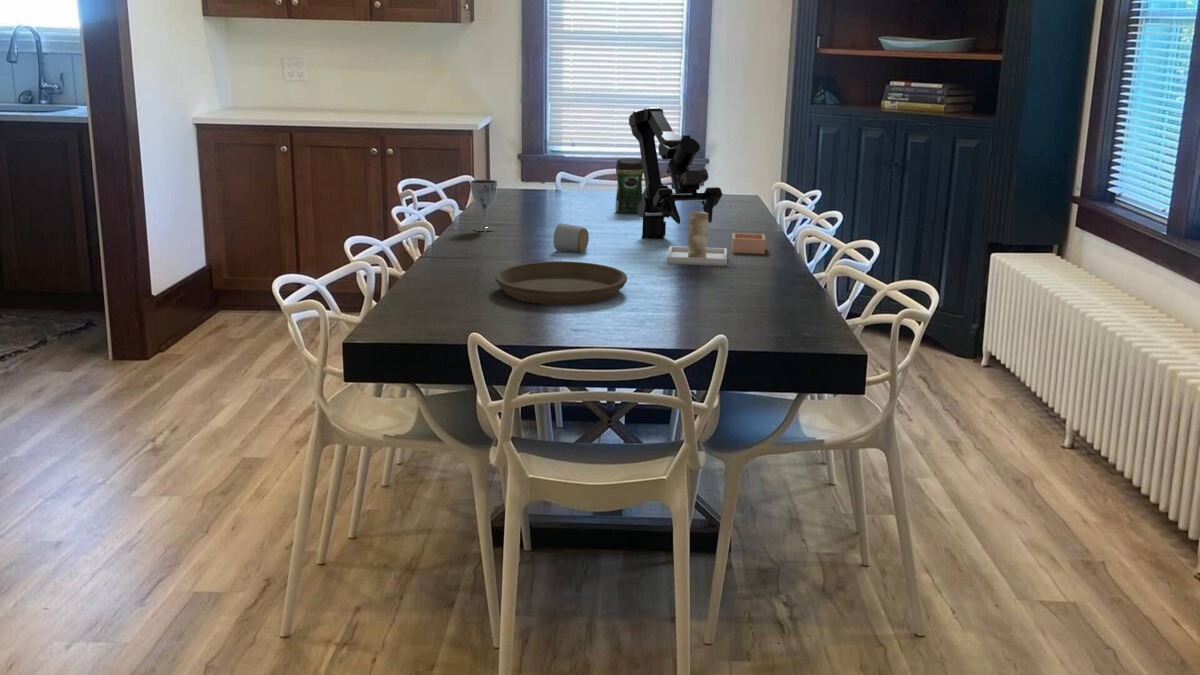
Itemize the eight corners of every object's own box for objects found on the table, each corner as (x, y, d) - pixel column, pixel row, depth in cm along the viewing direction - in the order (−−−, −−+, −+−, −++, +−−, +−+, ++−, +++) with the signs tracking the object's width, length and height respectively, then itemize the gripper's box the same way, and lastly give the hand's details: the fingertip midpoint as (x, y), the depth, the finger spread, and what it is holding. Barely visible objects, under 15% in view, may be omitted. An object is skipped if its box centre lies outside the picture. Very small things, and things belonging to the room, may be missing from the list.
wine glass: (466, 231, 338) (466, 181, 334) (479, 227, 345) (478, 179, 341) (489, 233, 335) (489, 183, 331) (501, 229, 342) (501, 180, 338)
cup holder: (731, 254, 309) (732, 238, 308) (731, 248, 318) (732, 233, 317) (764, 255, 308) (765, 239, 307) (763, 249, 317) (764, 234, 316)
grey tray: (666, 263, 295) (666, 257, 295) (669, 252, 310) (669, 246, 310) (726, 266, 294) (727, 259, 293) (726, 254, 309) (726, 248, 308)
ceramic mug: (579, 254, 305) (580, 227, 303) (552, 252, 308) (553, 224, 306) (594, 249, 314) (594, 222, 313) (567, 246, 317) (568, 220, 315)
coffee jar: (641, 210, 383) (643, 156, 378) (644, 214, 375) (645, 159, 370) (613, 210, 382) (615, 156, 377) (615, 214, 374) (617, 159, 369)
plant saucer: (580, 315, 240) (580, 295, 239) (468, 296, 256) (467, 277, 255) (650, 290, 266) (651, 271, 265) (544, 273, 282) (544, 256, 280)
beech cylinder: (684, 256, 302) (686, 213, 298) (694, 254, 305) (696, 211, 302) (699, 259, 299) (701, 215, 295) (709, 256, 302) (711, 213, 299)
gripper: (658, 159, 299) (671, 206, 292) (721, 158, 305) (736, 204, 298) (647, 184, 309) (659, 230, 302) (708, 182, 314) (722, 227, 307)
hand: (695, 222), depth 302 cm, fingers open, 9 cm apart
